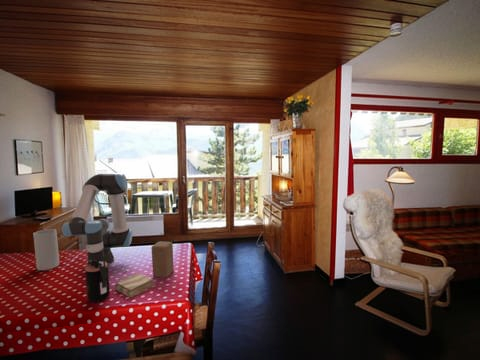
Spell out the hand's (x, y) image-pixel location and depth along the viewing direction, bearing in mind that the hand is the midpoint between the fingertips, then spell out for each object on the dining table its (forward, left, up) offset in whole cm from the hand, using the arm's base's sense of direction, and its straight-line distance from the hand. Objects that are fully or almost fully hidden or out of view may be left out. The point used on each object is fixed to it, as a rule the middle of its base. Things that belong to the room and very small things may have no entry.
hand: (98, 289), depth 136 cm
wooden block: (+7, +37, -5) cm, 38 cm away
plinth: (+7, +17, -4) cm, 19 cm away
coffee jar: (0, 0, -5) cm, 5 cm away
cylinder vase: (-69, -1, -5) cm, 69 cm away
